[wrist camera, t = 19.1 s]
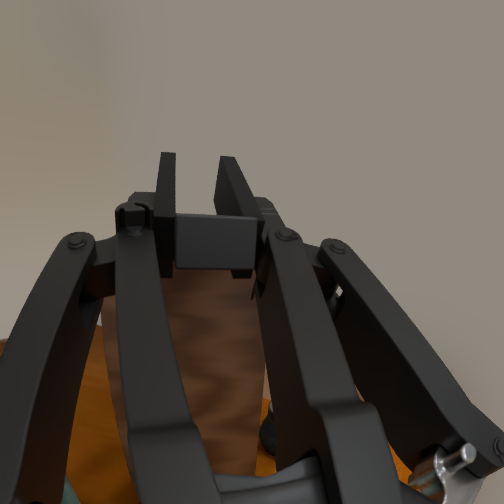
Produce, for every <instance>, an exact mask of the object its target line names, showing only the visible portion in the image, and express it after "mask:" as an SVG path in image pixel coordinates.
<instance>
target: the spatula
mask: <svg viewBox="0 0 504 504" xmlns="http://www.w3.org/2000/svg"><path fill="white" fill-rule="evenodd" d="M256 237H257V218H255V217H242V216H224V215H205V214H180V213H176V215H175V223H174V240H173V259H174V264H175V267H176V269H178V270H253V269H254V268H255V254H256Z"/></svg>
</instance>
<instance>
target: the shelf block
mask: <svg viewBox="0 0 504 504" xmlns="http://www.w3.org/2000/svg"><path fill="white" fill-rule="evenodd" d="M110 238H111V237H110ZM108 239H109V238H108ZM255 279H256V273H255V270H254V269H253V273H252V277H251V279H233V278H232V274H231V270H178V269H176V267H175V264H174V259H173V278H161V284H162V290H163V295H164V301H165V306H166V311H167V316H168V321H169V326H170V331H171V336H172V340H173V345H174V349H175V354H176V358H177V362H178V367H179V371H180V375H181V379H182V383H183V387H184V391H185V395H186V398H187V402H188V406H189V409H190V413H191V416H192V419H193V421H194V423H195V424H196V425H197V427H198V430H199V432H200V435H201V438H202V440H203V444H204V447H205V450H206V453H207V456H208V459H209V462H210V465H211V468H212V471H213V474H218V473H223V474H233V475H244V476H255V469H256V459H257V449H258V439H259V429H260V418H261V407H262V396H263V383H264V372H265V355H264V349H263V342H262V336H261V329H260V322H259V316H258V309H257V303H256V296H254V299H253V300H250V299H251V294H252V290H253V286H254V283H255ZM101 320H102V321H101V322H102V332H103V342H104V350H105V358H106V365H107V372H108V379H109V385H110V391H111V396H112V402H113V407H114V412H115V417H116V422H117V426H118V430H119V435H120V439H121V443H122V447H123V451H124V455H125V458H126V462H127V466H128V469H129V473H130V476H131V479H132V483H133V486H134V489H135V492H136V495H137V498H138V501H139V503H140V502H141V500H140V497H139V493H138V489H137V485H136V481H135V477H134V472H133V468H132V463H131V458H130V453H129V448H128V442H127V431H128V428H127V420H126V414H125V407H124V400H123V393H122V384H121V376H120V366H119V355H118V342H117V326H116V301H115V295H113V296H109V297H105V298H104V302H103V305H102V308H101Z"/></svg>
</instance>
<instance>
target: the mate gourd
mask: <svg viewBox="0 0 504 504" xmlns="http://www.w3.org/2000/svg"><path fill="white" fill-rule="evenodd" d="M259 436H260V440H261V444H262V446H263V447H264V448H265V450H267V451H268V452H269V453H271V454H273V455H275V456H276V450H277V433H276V427H275V420H274V414H273V408H272V401H271V402H270V403H269V407H268V415H267V417H266V418H265V419H264V420H263V422H262V425H261V426H260V432H259Z"/></svg>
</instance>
